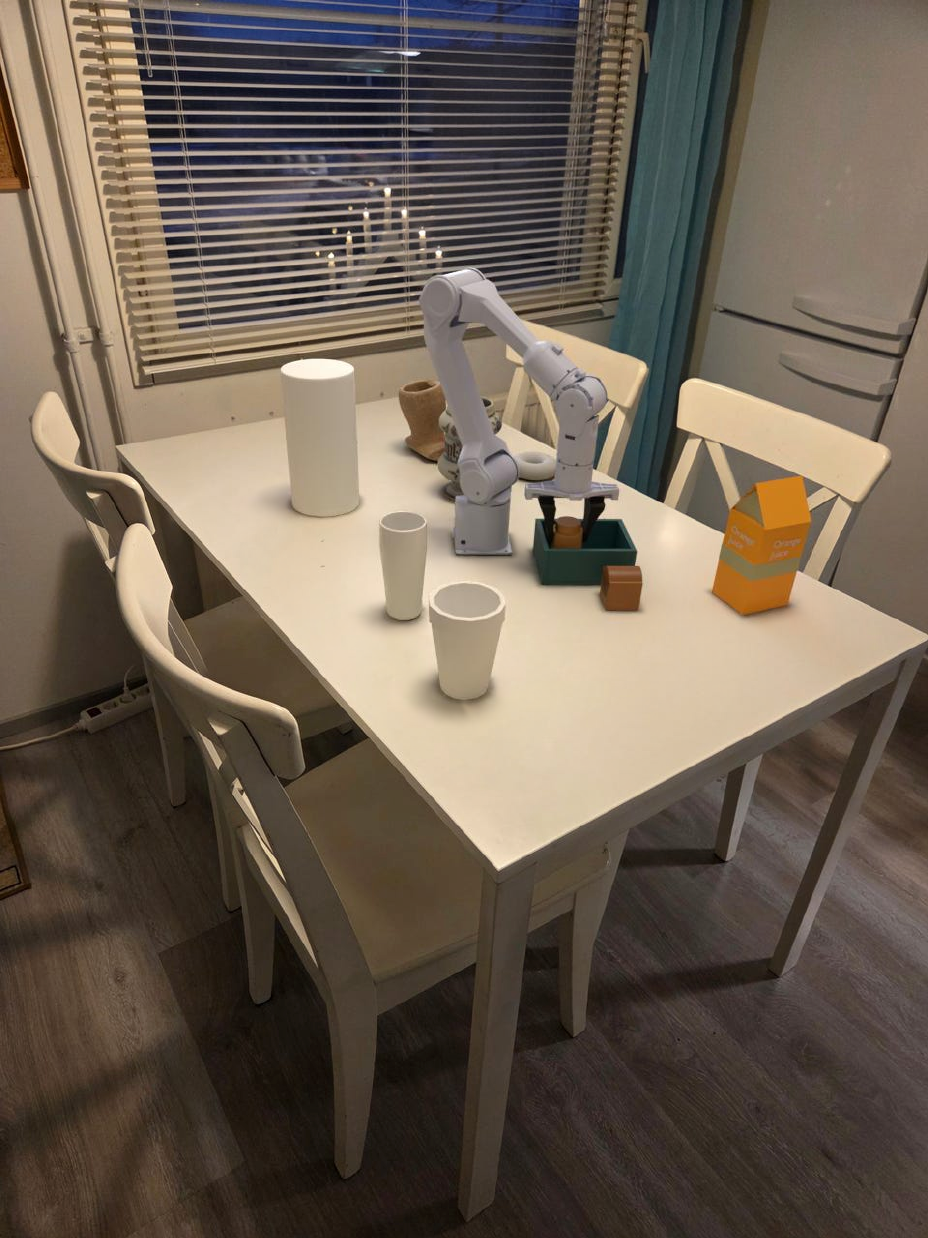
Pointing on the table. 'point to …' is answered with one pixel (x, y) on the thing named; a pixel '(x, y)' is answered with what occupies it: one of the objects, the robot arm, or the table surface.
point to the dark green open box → (583, 554)
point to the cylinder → (321, 436)
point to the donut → (535, 465)
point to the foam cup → (466, 635)
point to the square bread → (621, 587)
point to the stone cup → (424, 416)
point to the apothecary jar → (458, 448)
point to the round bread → (567, 533)
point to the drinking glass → (403, 562)
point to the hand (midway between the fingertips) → (566, 539)
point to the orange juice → (763, 546)
